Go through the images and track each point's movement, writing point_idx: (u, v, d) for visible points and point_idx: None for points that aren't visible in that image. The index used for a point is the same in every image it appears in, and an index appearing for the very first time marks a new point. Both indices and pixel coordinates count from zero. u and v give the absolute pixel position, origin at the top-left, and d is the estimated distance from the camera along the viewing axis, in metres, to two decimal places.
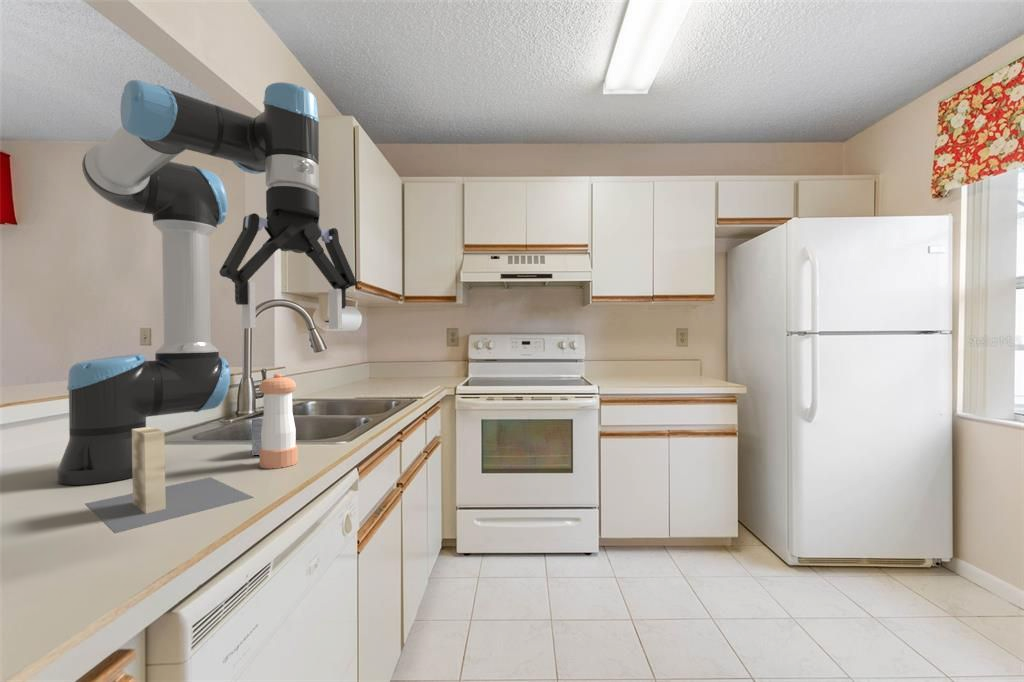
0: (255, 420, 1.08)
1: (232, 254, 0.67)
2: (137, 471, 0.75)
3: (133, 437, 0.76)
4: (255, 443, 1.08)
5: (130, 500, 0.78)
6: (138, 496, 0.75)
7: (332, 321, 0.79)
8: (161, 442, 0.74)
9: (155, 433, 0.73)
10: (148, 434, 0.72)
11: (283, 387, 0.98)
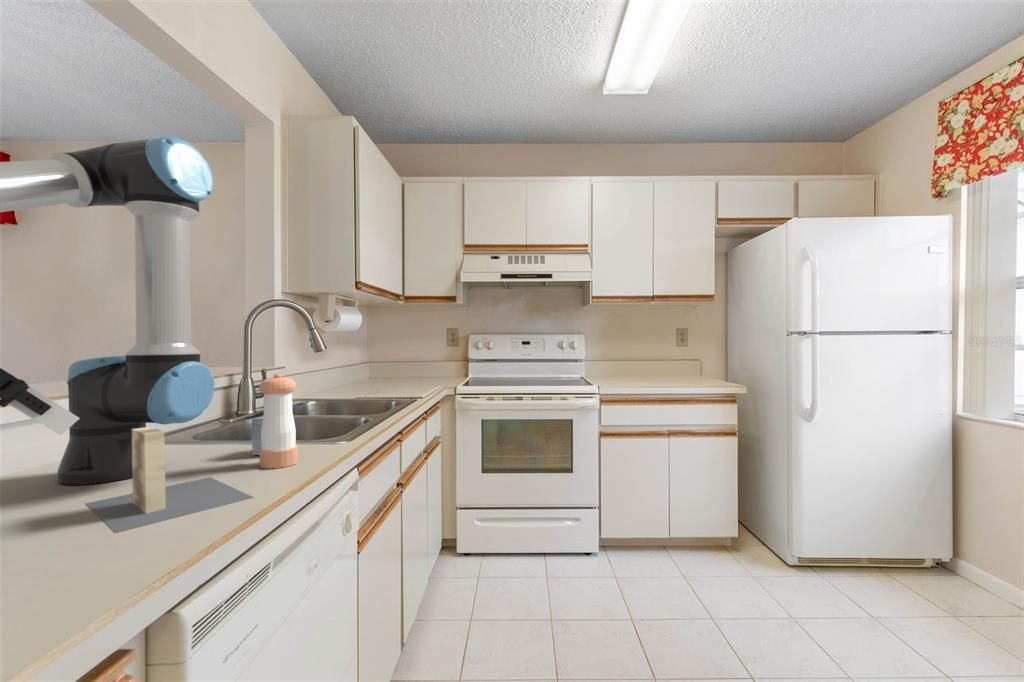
0: (255, 420, 1.08)
1: None
2: (137, 471, 0.75)
3: (133, 437, 0.76)
4: (255, 443, 1.08)
5: (130, 500, 0.78)
6: (138, 496, 0.75)
7: None
8: (161, 442, 0.74)
9: (155, 433, 0.73)
10: (148, 434, 0.72)
11: (283, 387, 0.98)
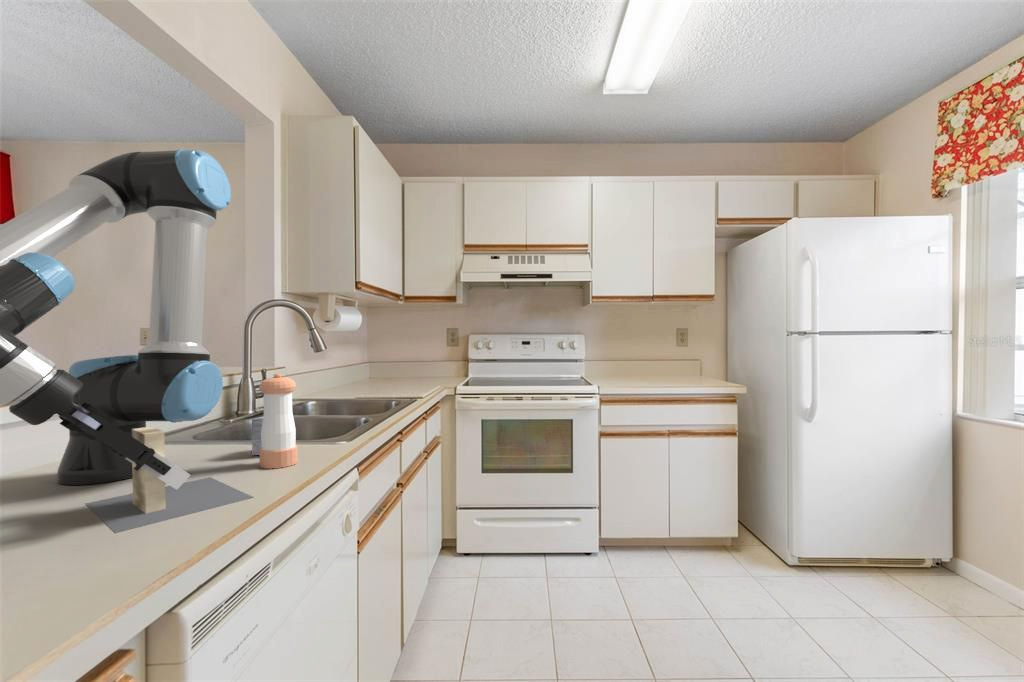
0: (255, 420, 1.08)
1: None
2: (137, 471, 0.75)
3: (133, 437, 0.76)
4: (255, 443, 1.08)
5: (130, 500, 0.78)
6: (138, 496, 0.75)
7: None
8: (161, 442, 0.74)
9: (155, 433, 0.73)
10: (148, 434, 0.72)
11: (283, 387, 0.98)
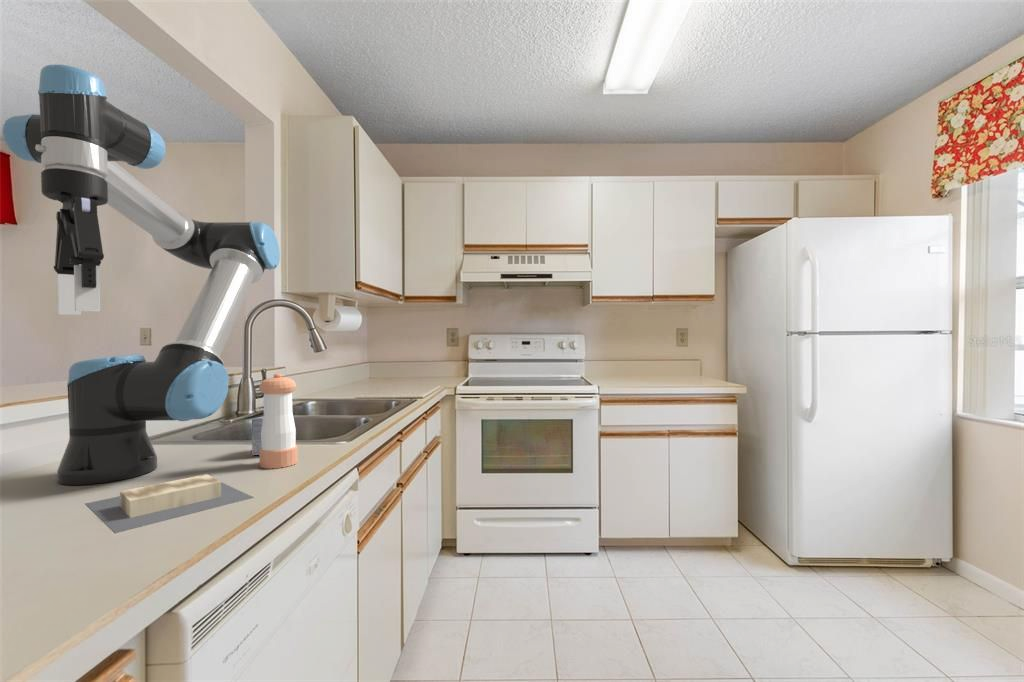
0: (255, 420, 1.08)
1: None
2: (168, 486, 0.77)
3: (200, 476, 0.82)
4: (255, 443, 1.08)
5: None
6: (138, 492, 0.74)
7: None
8: (210, 497, 0.78)
9: (220, 490, 0.79)
10: (219, 484, 0.79)
11: (283, 387, 0.98)
